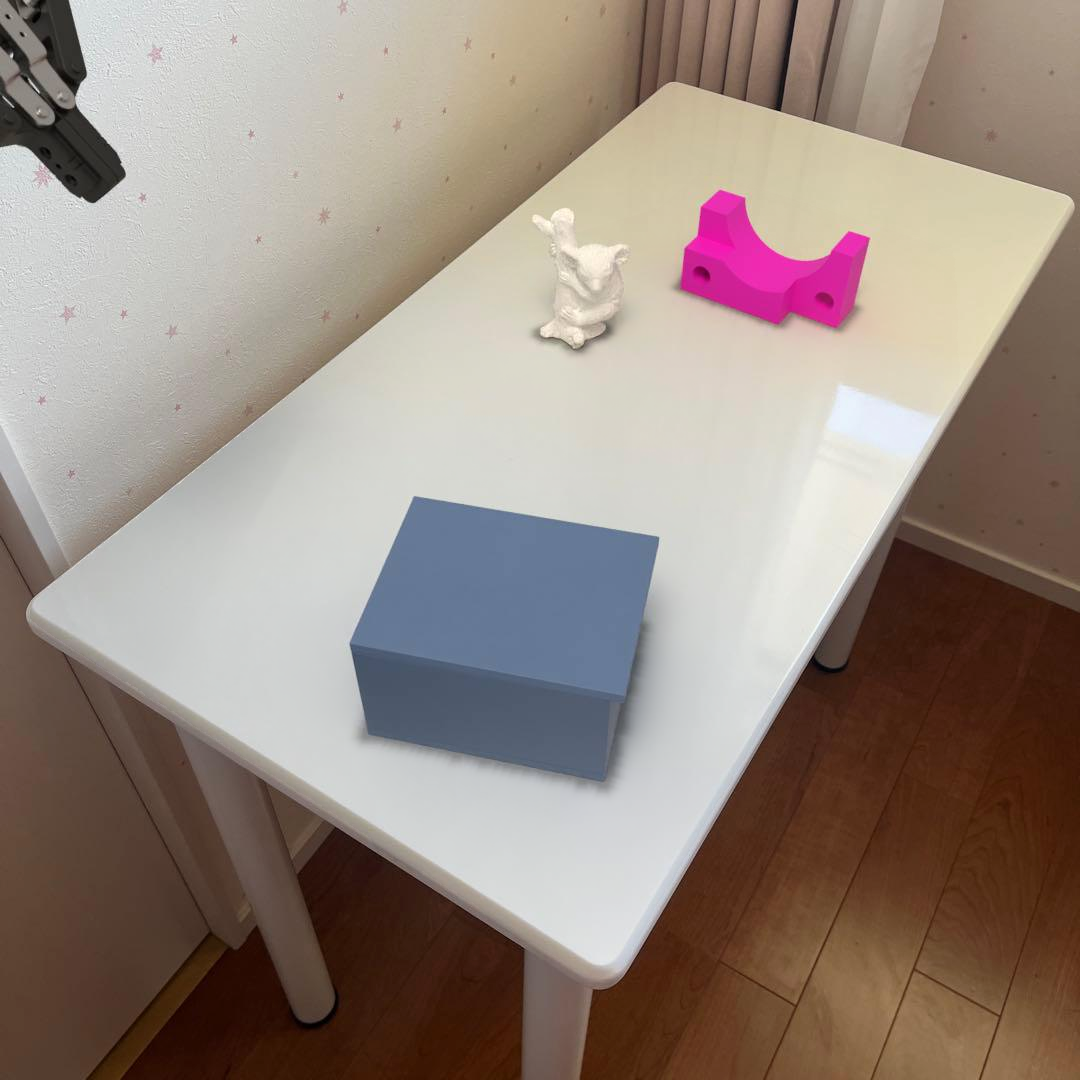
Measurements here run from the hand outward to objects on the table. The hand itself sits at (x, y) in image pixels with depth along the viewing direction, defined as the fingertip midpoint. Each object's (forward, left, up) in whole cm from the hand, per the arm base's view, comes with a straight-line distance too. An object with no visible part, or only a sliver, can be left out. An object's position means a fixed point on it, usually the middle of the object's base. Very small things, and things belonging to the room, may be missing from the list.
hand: (109, 190), depth 55 cm
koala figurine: (+40, +7, -33) cm, 52 cm away
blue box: (+10, -18, -32) cm, 38 cm away
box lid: (+10, -18, -24) cm, 32 cm away
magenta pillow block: (+57, -1, -33) cm, 66 cm away
